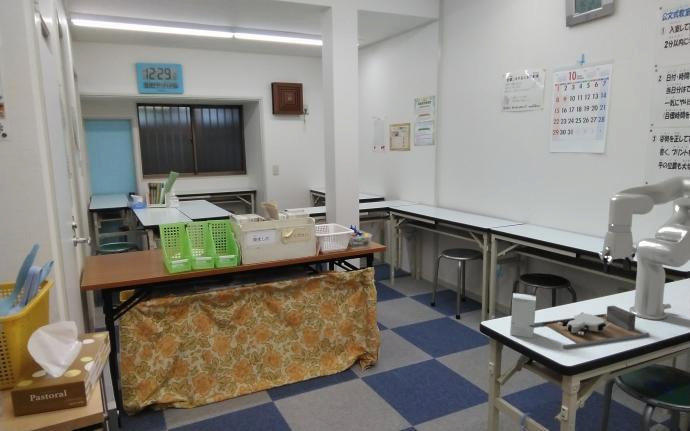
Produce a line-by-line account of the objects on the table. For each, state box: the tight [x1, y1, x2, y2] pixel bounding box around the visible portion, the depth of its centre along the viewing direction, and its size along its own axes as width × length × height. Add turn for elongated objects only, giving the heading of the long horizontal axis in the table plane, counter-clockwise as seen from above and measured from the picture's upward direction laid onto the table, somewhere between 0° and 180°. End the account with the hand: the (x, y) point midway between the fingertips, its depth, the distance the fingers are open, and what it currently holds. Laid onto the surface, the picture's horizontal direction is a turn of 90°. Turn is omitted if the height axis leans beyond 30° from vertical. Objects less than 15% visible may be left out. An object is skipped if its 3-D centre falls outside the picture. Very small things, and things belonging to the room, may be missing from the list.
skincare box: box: [509, 292, 537, 339], centre depth 165 cm, size 8×6×15 cm
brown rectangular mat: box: [545, 305, 644, 344], centre depth 167 cm, size 28×18×6 cm, turn 104°
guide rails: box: [534, 313, 650, 350], centre depth 167 cm, size 36×20×1 cm, turn 104°
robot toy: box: [558, 311, 611, 335], centre depth 166 cm, size 12×4×15 cm
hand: (617, 272), depth 171 cm, fingers open, 9 cm apart
